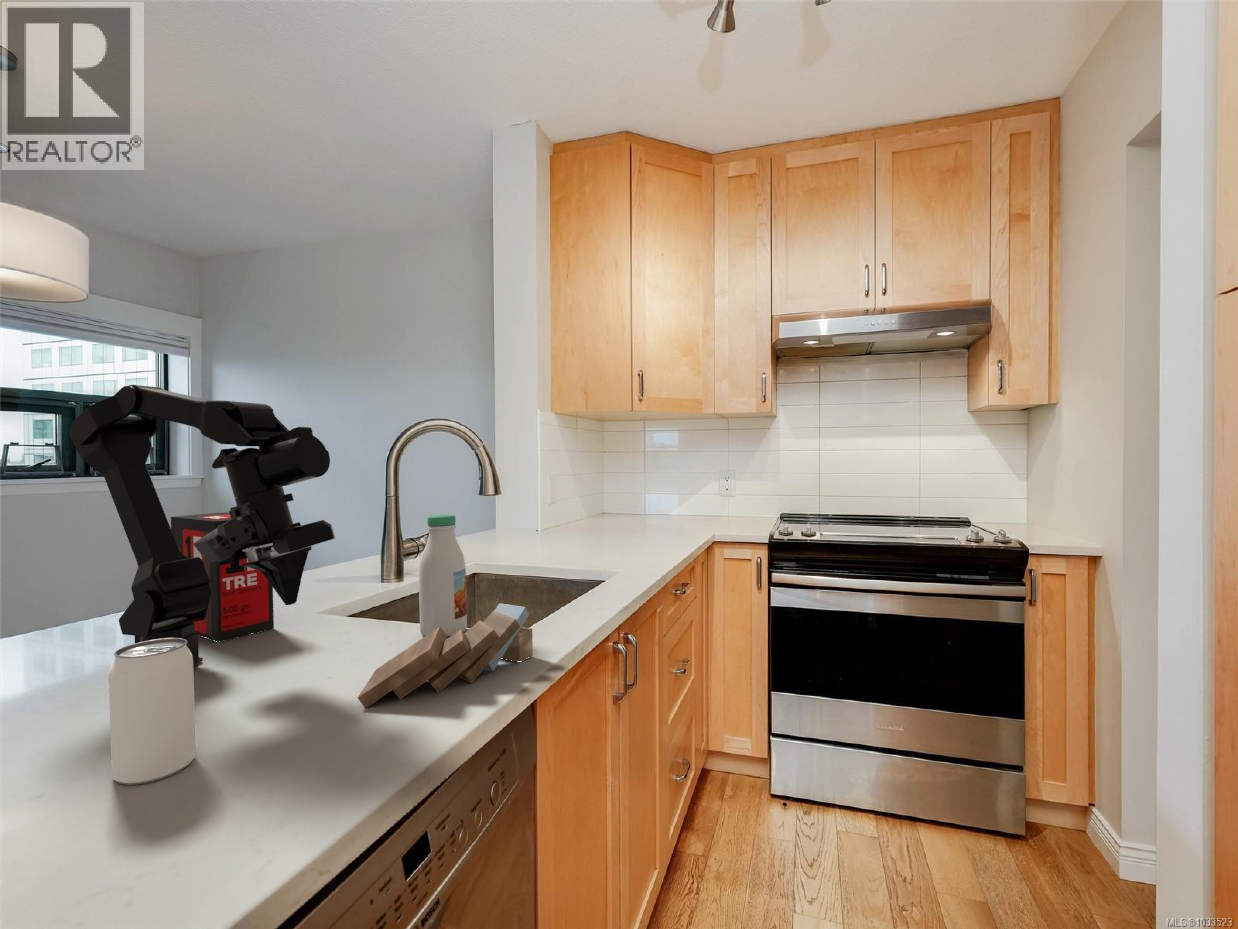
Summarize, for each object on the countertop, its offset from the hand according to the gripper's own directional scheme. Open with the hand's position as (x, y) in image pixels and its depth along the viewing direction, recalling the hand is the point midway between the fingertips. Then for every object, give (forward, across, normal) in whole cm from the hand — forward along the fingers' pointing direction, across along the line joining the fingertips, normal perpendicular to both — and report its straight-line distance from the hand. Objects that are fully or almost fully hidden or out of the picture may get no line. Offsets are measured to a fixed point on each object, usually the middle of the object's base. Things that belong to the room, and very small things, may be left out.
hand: (291, 604), depth 81 cm
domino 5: (+15, +18, +12) cm, 26 cm away
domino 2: (+13, +14, +2) cm, 19 cm away
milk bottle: (+14, 0, +23) cm, 27 cm away
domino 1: (+12, +11, +1) cm, 17 cm away
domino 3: (+14, +17, +5) cm, 22 cm away
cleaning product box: (+5, -36, +7) cm, 38 cm away
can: (+9, +9, -22) cm, 25 cm away
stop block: (+17, +18, +19) cm, 31 cm away
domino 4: (+14, +18, +9) cm, 25 cm away
